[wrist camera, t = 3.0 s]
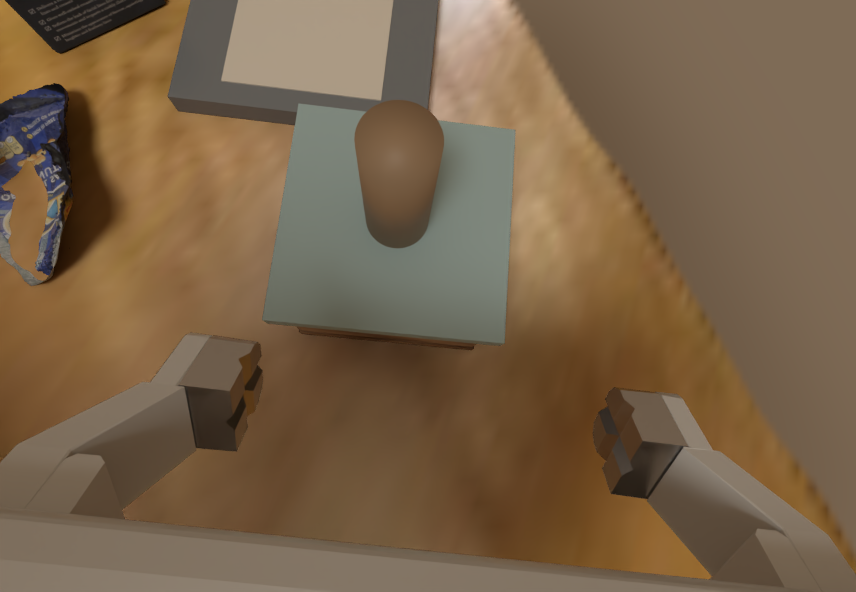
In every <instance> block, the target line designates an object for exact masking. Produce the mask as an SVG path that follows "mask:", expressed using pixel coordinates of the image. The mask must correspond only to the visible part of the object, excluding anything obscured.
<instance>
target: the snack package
mask: <svg viewBox="0 0 856 592" xmlns="http://www.w3.org/2000/svg"><path fill="white" fill-rule="evenodd" d="M53 84H54V85H53ZM53 84H51V85H45V86H43V87H41V88H39V89H35V90H29V91H28V92H27V93H25V94H23V95H21V94H20V95H17V96H16V97H15V96H13V99H9V100H7V101H5V102H4V103H2V104H0V158H2V157H3V156H5V158H6V159H7V160H5V162H4V163H2V164H0V254H1V257H2V258H4V259H5V260H6V261H7V263H9V264H10V265H12V266H14V268H15V269H17V270H18V271H19V273H20V274H21V275H22V277H23V279H24V281H26V282H27V283H28V284H30V285H31V286H32V285H38V284H40V283H42V282H44V281H40V280H38V279H36V278H35V277H34V276H33V275H32V274H31V273H30V272H29V271H27V270H25V269H23V268H21V267H20V266H19V265H18V264H16V263H15V261H14V260H13V259H12V257H11V254H10V244H9V243H8V239H9V237H10V235H11V229H10V224H9V222H10V216H11V211H12V205H13V202H14V200H15V198H16V197H15V195H13V194H11V193H10V191H4V190H3V188H2V187H1V186H2V185H4V184H5V183H6V182H8V181H9V180H10V179H11V178H12V177H14V176H15V175H16V174H17V173H19V171H20V170H21V168H22V166H23V164H24V163H25V162H27V161H31V162H32V163H33V165H34V167H35V170H36V172H37V174H38V176H40V177H41V178H42V181H43V182H44V185H45V187H46V189H47V193H48V203H49V205H48V209H47V218H46V222H45V223H46V224H45V230H44V231H43V234H42V237H41V239H40V241H39V255H38V258H37V261H36V263H35V264H36V266H35V268H36V269H37V271H43V273H44V274H46V275H49V277H48V278H47V279H46V280H48V279H50V278H51V277H52V276H53V273H54V272H53V271H54V266H55V264H56V262H57V260H58V252H59V245H60V240H61V235H62V230H63V228H64V224H65V221H66V219H67V216H68V214H69V211H70V208H71V207H72V203H73V200H72V197H73V193H72V189H71V182H72V180H71V171H70V160H69V150H70V149H69V148H68V141H67V128H66V123H65V119H64V118H65V117H66V112H67V108H68V101H69V97H68V93H67V91H66V90H65V89H64V88H63V86H61V85H60V84H55V83H53ZM69 249H70V248H69ZM46 280H45V281H46Z"/></svg>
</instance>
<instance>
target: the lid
mask: <svg viewBox="0 0 856 592" xmlns="http://www.w3.org/2000/svg"><path fill="white" fill-rule="evenodd" d="M514 149H515V130H512V129H504V128H496V127H488V126H480V125H471V124H463V123H455V122H447V121H439V120H437V119H436V118H435V116H434V115H433V114H432V113H431V112H430V111H429V110H427V109H426V108H424V107H423V106H421V105H419V104H417V103H414V102H411V101H406V100H390V101H385V102H382V103H379V104H377V105H375V106H374V107H372V108H370V109H369V110H368V111H367V112H365V111H357V110H349V109H340V108H332V107H324V106H316V105H308V104H298V110H297V116H296V122H295V128H294V134H293V140H292V146H291V151H290V157H289V163H288V169H287V175H286V181H285V187H284V193H283V199H282V205H281V211H280V217H279V223H278V229H277V235H276V240H275V246H274V252H273V258H272V264H271V270H270V276H269V282H268V288H267V294H266V300H265V306H264V312H263V318H262V320H263V321H265V322H266V323H268V324H278V325H288V326H298V327H308V328H319V329H329V330H339V331H350V332H360V333H370V334H381V335H391V336H401V337H412V338H422V339H432V340H442V341H453V342H463V343H473V344H484V345H494V346H501V345H503V344H505V325H506V306H507V286H508V266H509V247H510V227H511V208H512V188H513V168H514Z"/></svg>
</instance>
